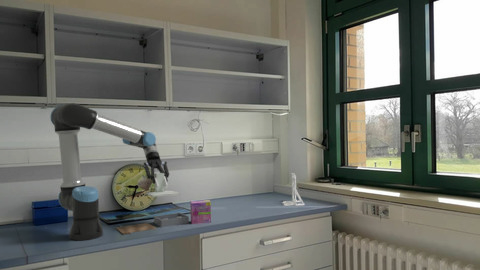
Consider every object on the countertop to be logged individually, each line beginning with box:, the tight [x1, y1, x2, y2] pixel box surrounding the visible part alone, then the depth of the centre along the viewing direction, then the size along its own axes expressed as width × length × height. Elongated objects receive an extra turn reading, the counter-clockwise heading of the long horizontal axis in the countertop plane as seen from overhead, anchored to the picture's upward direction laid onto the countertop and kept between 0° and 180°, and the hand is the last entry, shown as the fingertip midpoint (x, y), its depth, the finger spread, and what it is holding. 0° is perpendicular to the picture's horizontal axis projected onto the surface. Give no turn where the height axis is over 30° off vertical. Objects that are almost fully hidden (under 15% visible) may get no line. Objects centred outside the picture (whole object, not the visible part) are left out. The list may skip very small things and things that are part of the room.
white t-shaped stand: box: [145, 172, 180, 198], centre depth 203 cm, size 15×12×11 cm
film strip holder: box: [282, 172, 306, 207], centre depth 254 cm, size 14×14×20 cm
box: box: [190, 199, 212, 225], centre depth 205 cm, size 10×6×12 cm, turn 105°
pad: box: [115, 222, 158, 235], centre depth 195 cm, size 17×14×1 cm
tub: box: [153, 212, 190, 228], centre depth 205 cm, size 15×12×4 cm
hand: (162, 187), depth 203 cm, fingers closed on white t-shaped stand, 4 cm apart
